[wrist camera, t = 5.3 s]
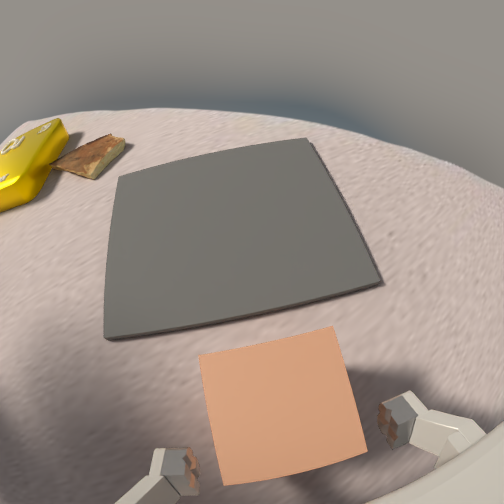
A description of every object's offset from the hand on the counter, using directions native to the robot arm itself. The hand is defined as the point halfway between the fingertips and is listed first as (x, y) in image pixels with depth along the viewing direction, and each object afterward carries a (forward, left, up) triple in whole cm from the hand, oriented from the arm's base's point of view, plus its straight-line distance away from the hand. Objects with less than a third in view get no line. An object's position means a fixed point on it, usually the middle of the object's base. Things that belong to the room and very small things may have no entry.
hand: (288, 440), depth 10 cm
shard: (-17, +30, -6) cm, 35 cm away
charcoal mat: (-1, +16, -6) cm, 17 cm away
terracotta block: (0, +1, -6) cm, 6 cm away
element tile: (-31, +35, -6) cm, 47 cm away
